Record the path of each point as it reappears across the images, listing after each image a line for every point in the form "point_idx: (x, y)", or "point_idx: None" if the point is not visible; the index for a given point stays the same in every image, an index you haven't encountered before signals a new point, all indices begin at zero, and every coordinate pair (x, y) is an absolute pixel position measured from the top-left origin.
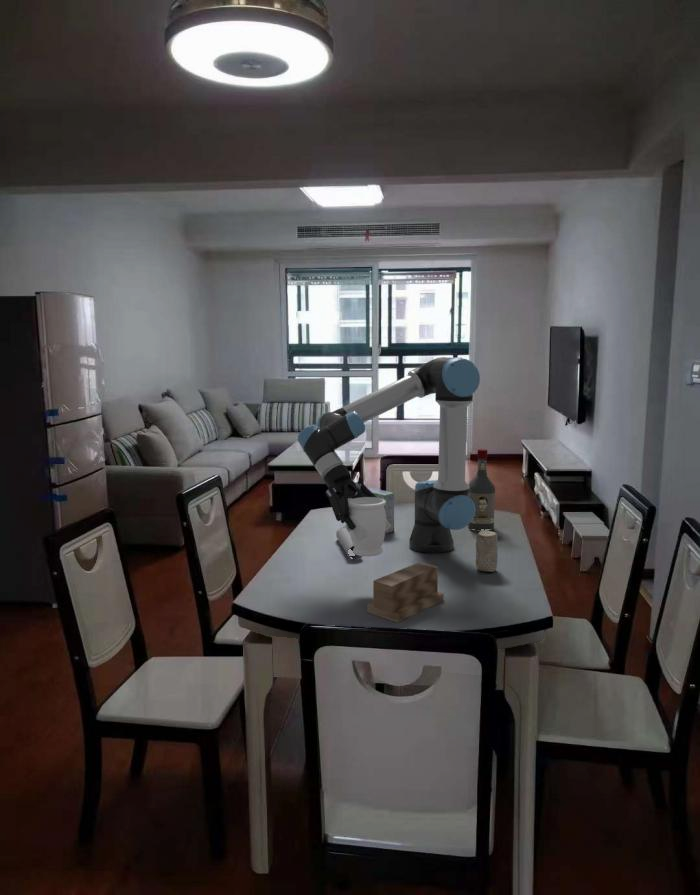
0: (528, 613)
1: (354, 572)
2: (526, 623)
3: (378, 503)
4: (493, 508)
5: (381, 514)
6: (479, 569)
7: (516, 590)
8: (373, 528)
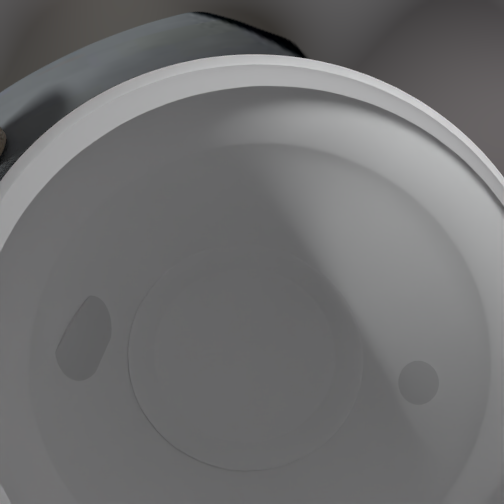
0: (185, 25)
1: None
2: (227, 19)
3: (376, 100)
4: None
5: (293, 164)
6: (1, 152)
7: (83, 67)
8: (349, 245)
